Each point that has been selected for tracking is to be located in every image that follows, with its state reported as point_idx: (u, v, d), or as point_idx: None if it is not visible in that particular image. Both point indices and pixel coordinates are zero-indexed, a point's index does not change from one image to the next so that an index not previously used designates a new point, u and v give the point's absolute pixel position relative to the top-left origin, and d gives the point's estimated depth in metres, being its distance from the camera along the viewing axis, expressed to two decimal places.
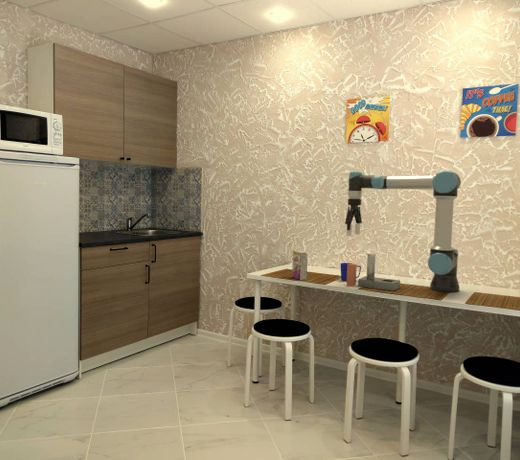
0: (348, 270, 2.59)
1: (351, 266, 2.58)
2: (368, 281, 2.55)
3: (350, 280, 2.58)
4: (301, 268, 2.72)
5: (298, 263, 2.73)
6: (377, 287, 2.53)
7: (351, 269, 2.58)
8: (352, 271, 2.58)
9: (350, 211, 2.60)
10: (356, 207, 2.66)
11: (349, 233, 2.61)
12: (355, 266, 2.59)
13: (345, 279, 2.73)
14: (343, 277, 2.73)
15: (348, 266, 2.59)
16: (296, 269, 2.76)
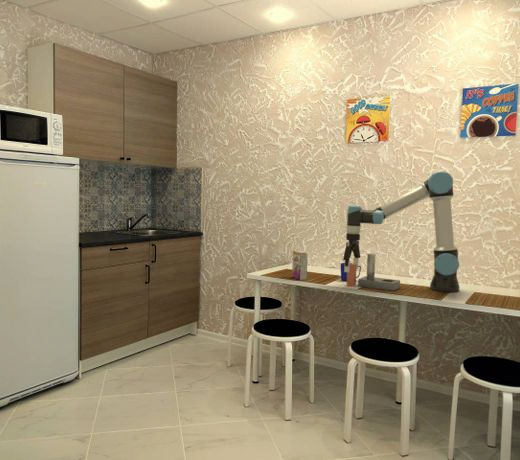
0: None
1: (351, 266, 2.58)
2: (368, 281, 2.55)
3: (350, 280, 2.58)
4: (301, 268, 2.72)
5: (298, 263, 2.73)
6: (377, 287, 2.53)
7: (351, 269, 2.58)
8: (352, 271, 2.58)
9: (348, 247, 2.53)
10: (355, 242, 2.59)
11: (347, 269, 2.54)
12: (355, 266, 2.59)
13: (345, 279, 2.73)
14: (343, 277, 2.73)
15: None
16: (296, 269, 2.76)
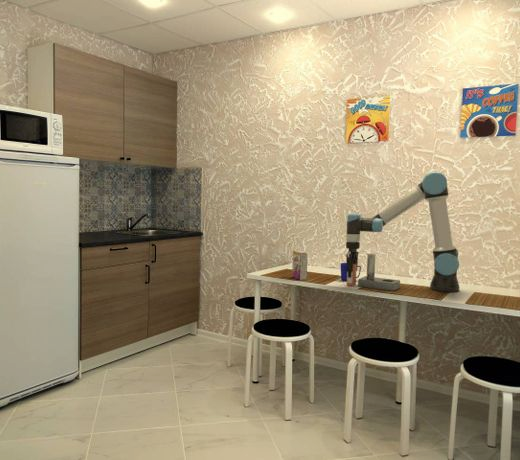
0: None
1: None
2: (368, 281, 2.55)
3: None
4: (301, 268, 2.72)
5: (298, 263, 2.73)
6: (377, 287, 2.53)
7: None
8: (352, 271, 2.58)
9: (349, 258, 2.54)
10: (355, 248, 2.59)
11: (350, 280, 2.58)
12: (355, 266, 2.59)
13: (345, 279, 2.73)
14: (343, 277, 2.73)
15: None
16: (296, 269, 2.76)
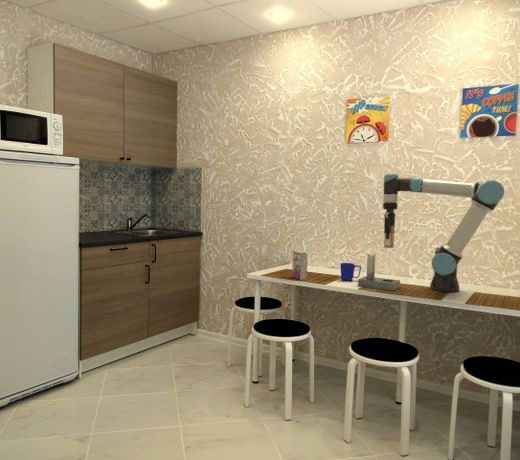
0: None
1: None
2: (368, 281, 2.55)
3: None
4: (301, 268, 2.72)
5: (298, 263, 2.73)
6: (377, 287, 2.53)
7: None
8: (390, 232, 2.51)
9: (387, 219, 2.48)
10: (392, 209, 2.53)
11: (388, 242, 2.51)
12: (393, 227, 2.52)
13: (345, 279, 2.73)
14: (343, 277, 2.73)
15: None
16: (296, 269, 2.76)
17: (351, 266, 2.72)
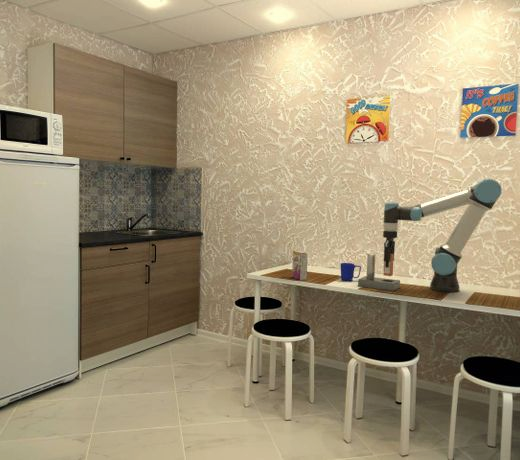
0: None
1: None
2: (368, 281, 2.55)
3: None
4: (301, 268, 2.72)
5: (298, 263, 2.73)
6: (377, 287, 2.53)
7: None
8: None
9: (387, 248, 2.49)
10: (392, 237, 2.54)
11: (387, 270, 2.52)
12: (392, 256, 2.53)
13: (345, 279, 2.73)
14: (343, 277, 2.73)
15: None
16: (296, 269, 2.76)
17: (351, 266, 2.72)
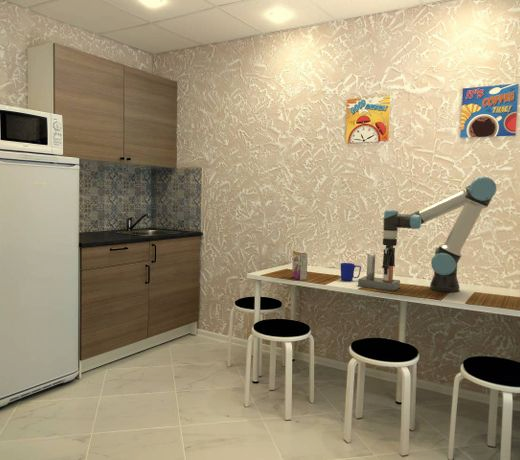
0: None
1: (388, 268, 2.53)
2: (368, 281, 2.55)
3: None
4: (301, 268, 2.72)
5: (298, 263, 2.73)
6: (377, 287, 2.53)
7: None
8: (389, 273, 2.53)
9: (386, 254, 2.48)
10: (392, 246, 2.54)
11: (386, 277, 2.51)
12: (392, 268, 2.54)
13: (345, 279, 2.73)
14: (343, 277, 2.73)
15: None
16: (296, 269, 2.76)
17: (351, 266, 2.72)
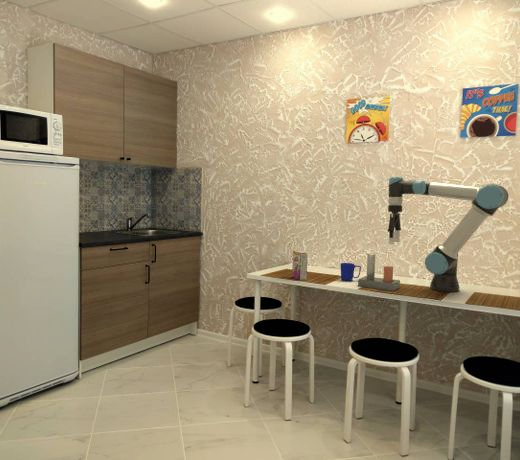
0: (385, 272, 2.54)
1: (388, 268, 2.53)
2: (368, 281, 2.55)
3: None
4: (301, 268, 2.72)
5: (298, 263, 2.73)
6: (377, 287, 2.53)
7: (388, 272, 2.53)
8: (389, 273, 2.53)
9: (392, 218, 2.50)
10: (397, 214, 2.56)
11: (392, 241, 2.51)
12: (392, 268, 2.54)
13: (345, 279, 2.73)
14: (343, 277, 2.73)
15: (385, 268, 2.54)
16: (296, 269, 2.76)
17: (351, 266, 2.72)
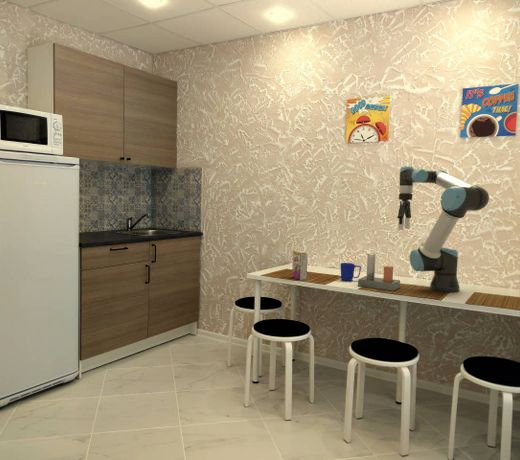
0: (385, 272, 2.54)
1: (388, 268, 2.53)
2: (368, 281, 2.55)
3: None
4: (301, 268, 2.72)
5: (298, 263, 2.73)
6: (377, 287, 2.53)
7: (388, 272, 2.53)
8: (389, 273, 2.53)
9: (402, 205, 2.63)
10: (407, 201, 2.69)
11: (401, 227, 2.64)
12: (392, 268, 2.54)
13: (345, 279, 2.73)
14: (343, 277, 2.73)
15: (385, 268, 2.54)
16: (296, 269, 2.76)
17: (351, 266, 2.72)
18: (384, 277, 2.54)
